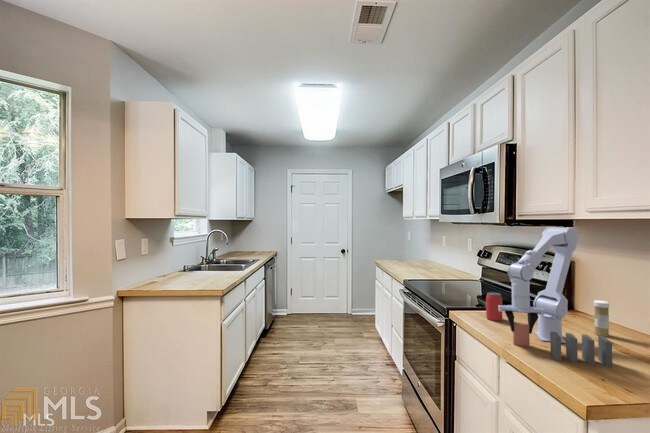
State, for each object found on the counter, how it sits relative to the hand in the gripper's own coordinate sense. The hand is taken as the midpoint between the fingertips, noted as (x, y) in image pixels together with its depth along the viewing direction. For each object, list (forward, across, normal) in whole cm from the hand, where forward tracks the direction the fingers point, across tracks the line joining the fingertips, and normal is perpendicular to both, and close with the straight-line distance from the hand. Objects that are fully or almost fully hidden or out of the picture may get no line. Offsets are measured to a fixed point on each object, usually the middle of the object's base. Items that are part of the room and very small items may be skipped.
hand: (521, 331), depth 116 cm
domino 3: (+5, +18, -8) cm, 20 cm away
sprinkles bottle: (+5, +32, +20) cm, 38 cm away
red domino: (+5, 0, 0) cm, 5 cm away
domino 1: (+5, +8, -8) cm, 13 cm away
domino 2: (+5, +13, -8) cm, 16 cm away
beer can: (+5, -5, +28) cm, 29 cm away
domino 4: (+5, +22, -8) cm, 24 cm away
